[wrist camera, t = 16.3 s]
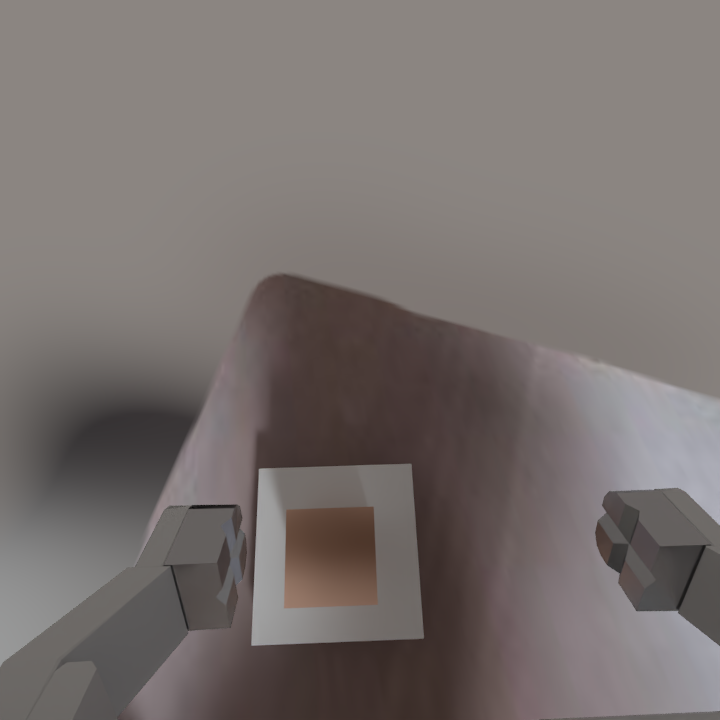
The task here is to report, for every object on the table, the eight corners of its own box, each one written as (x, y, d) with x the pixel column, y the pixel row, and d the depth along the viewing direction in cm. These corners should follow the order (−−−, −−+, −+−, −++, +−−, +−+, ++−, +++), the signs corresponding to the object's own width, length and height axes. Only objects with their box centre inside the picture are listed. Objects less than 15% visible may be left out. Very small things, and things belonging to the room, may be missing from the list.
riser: (416, 626, 35) (424, 638, 31) (262, 632, 35) (251, 645, 31) (406, 469, 39) (411, 463, 35) (268, 474, 39) (259, 468, 35)
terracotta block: (372, 584, 32) (377, 604, 24) (302, 586, 32) (283, 608, 24) (369, 511, 34) (373, 506, 26) (303, 513, 34) (286, 509, 26)
